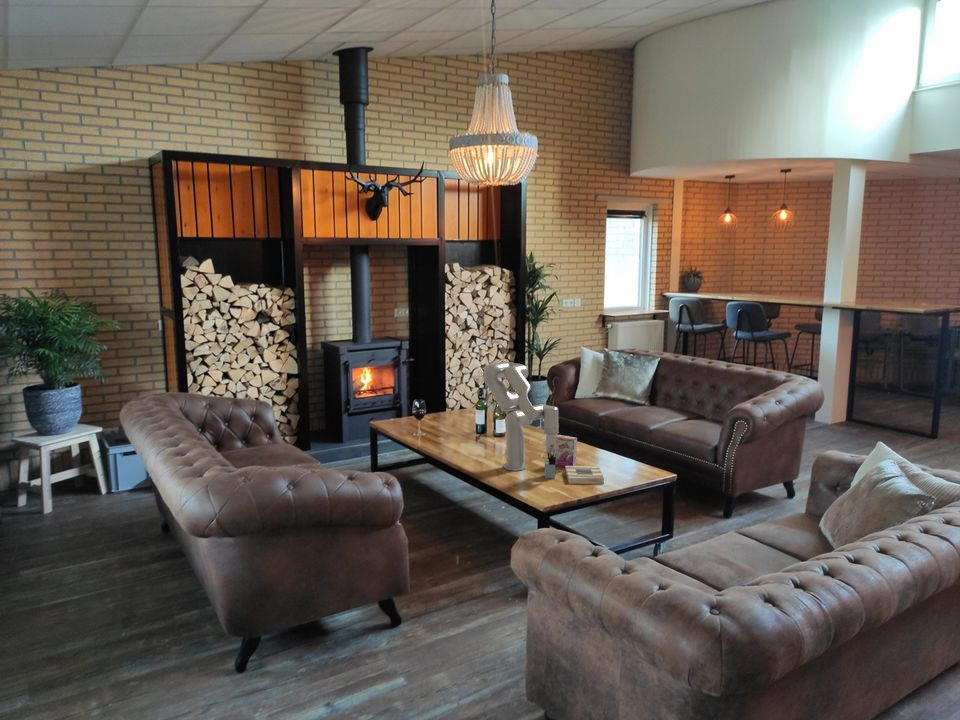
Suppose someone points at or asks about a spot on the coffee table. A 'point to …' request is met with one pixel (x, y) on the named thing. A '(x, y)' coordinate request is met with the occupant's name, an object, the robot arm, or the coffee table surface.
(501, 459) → the coffee table surface
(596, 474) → the birch base
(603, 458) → the coffee table surface
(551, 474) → the slate block
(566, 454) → the candy bar box
